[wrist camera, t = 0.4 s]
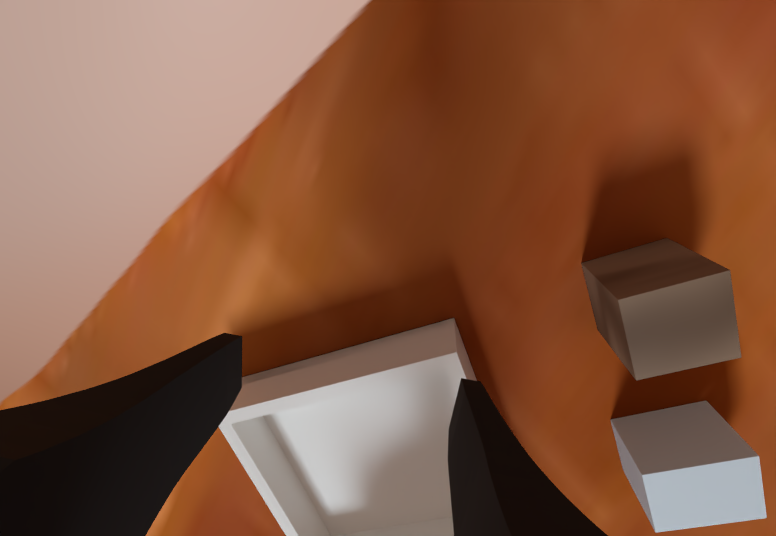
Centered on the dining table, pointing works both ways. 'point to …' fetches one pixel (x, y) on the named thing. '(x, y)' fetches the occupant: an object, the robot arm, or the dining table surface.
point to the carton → (689, 467)
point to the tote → (355, 436)
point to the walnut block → (663, 308)
